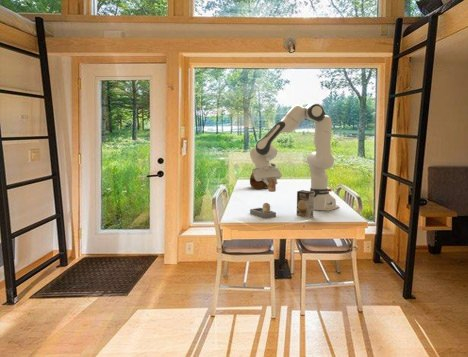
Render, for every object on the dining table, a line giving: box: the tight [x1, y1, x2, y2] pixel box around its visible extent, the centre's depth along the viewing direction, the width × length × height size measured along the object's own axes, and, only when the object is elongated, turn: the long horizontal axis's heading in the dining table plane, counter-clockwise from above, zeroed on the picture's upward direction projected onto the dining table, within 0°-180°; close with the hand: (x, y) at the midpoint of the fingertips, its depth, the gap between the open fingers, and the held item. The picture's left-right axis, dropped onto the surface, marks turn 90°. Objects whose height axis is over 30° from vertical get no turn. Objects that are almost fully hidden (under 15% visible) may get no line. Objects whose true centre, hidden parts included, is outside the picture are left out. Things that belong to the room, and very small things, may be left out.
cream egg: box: [262, 202, 271, 214], centre depth 226 cm, size 5×5×8 cm
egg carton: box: [249, 207, 277, 219], centre depth 230 cm, size 8×16×4 cm, turn 32°
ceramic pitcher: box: [249, 161, 270, 189], centre depth 335 cm, size 20×20×30 cm
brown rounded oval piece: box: [267, 178, 277, 193], centre depth 238 cm, size 5×5×8 cm
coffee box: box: [296, 189, 314, 218], centre depth 228 cm, size 9×6×16 cm
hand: (272, 184), depth 237 cm, fingers closed on brown rounded oval piece, 5 cm apart
